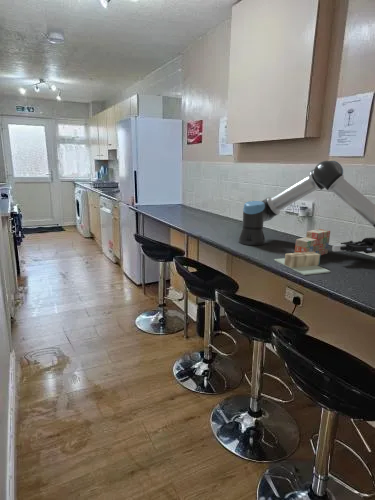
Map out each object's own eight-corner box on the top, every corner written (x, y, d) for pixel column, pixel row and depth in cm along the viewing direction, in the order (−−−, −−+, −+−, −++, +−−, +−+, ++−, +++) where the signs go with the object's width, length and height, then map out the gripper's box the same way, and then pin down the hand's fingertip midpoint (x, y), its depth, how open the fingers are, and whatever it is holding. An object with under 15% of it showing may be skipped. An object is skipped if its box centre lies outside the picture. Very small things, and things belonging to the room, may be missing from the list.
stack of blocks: (304, 260, 157) (307, 235, 154) (293, 257, 162) (296, 233, 159) (327, 253, 170) (330, 230, 167) (316, 251, 175) (319, 228, 172)
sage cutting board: (274, 260, 156) (274, 259, 156) (297, 258, 160) (297, 257, 160) (304, 275, 136) (304, 273, 136) (330, 272, 140) (330, 271, 140)
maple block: (311, 261, 153) (284, 264, 148) (313, 251, 151) (285, 253, 147) (319, 264, 148) (291, 267, 144) (320, 254, 147) (292, 256, 142)
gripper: (382, 256, 154) (342, 260, 147) (360, 249, 166) (322, 252, 159) (385, 240, 152) (345, 243, 145) (362, 234, 164) (324, 237, 157)
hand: (333, 248), depth 152 cm, fingers closed
